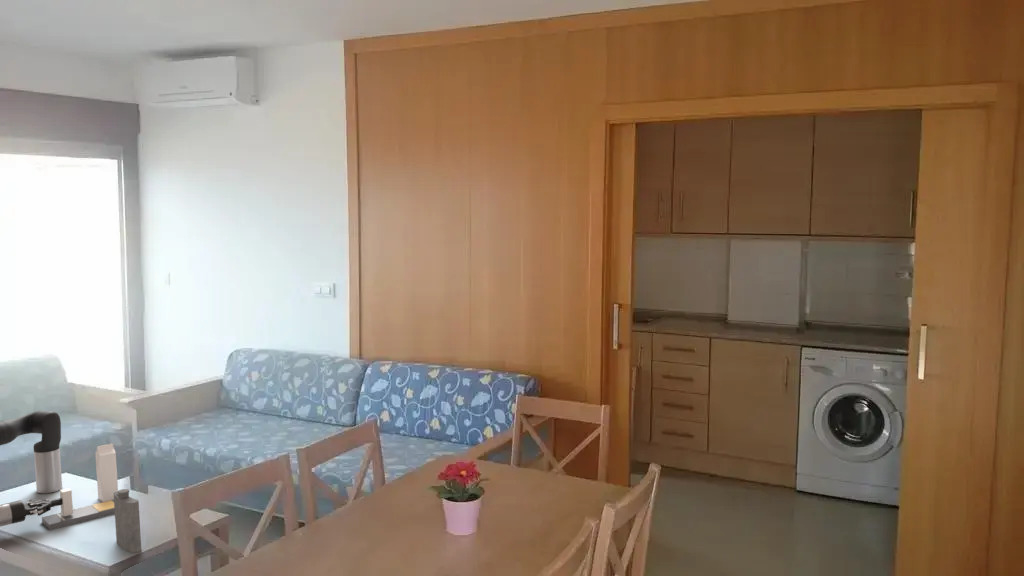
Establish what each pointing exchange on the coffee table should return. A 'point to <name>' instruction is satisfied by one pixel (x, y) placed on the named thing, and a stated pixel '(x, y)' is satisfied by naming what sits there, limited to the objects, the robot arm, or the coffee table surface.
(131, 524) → the hip flask
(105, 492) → the milk
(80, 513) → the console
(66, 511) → the block
